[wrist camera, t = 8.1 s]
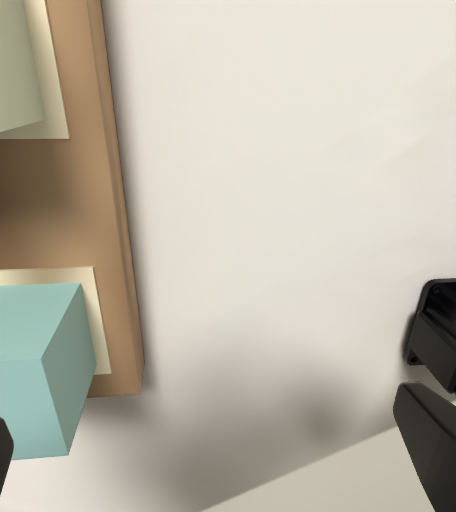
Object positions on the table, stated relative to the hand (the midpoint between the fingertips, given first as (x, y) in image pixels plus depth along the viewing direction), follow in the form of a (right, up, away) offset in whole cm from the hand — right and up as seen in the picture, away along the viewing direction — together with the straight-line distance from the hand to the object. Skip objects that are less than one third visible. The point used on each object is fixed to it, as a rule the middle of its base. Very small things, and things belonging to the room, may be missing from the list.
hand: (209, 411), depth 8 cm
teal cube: (-9, 0, +9) cm, 13 cm away
